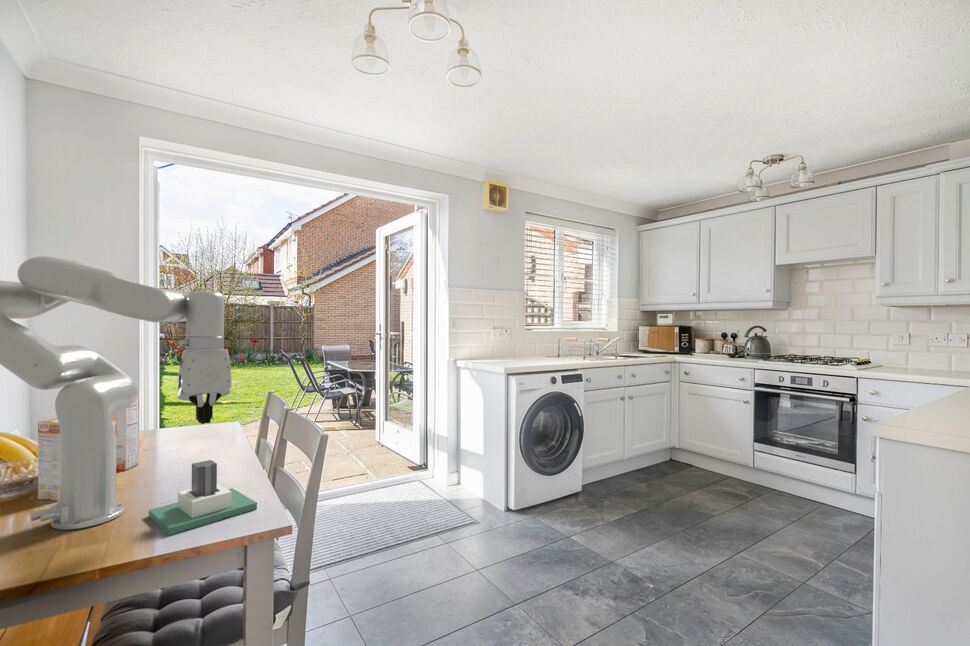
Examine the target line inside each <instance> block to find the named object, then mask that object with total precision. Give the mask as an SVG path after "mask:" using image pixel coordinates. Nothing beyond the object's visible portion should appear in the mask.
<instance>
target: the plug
mask: <svg viewBox="0 0 970 646" xmlns="http://www.w3.org/2000/svg"><path fill="white" fill-rule="evenodd" d="M217 464H218V463H217V462H215V461H213V460H212V459H209V460H203V461H199V462H198V461H197V462H193V463H191V489H192V495H193V496H195V497H199V496H204V497H207V496H210V495H214V493H215V492H217V483H218V482H217V481H218V476H217V475H218V465H217Z"/></svg>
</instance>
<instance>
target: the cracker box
mask: <svg viewBox="0 0 970 646" xmlns="http://www.w3.org/2000/svg"><path fill="white" fill-rule="evenodd" d="M139 403H140V400H139V398H138V397H137V398H136V400H135V402H134V403H133V404H132V405H131V406H130V407H128V408H126V409H124V410H122V411H119V412H117V413H115V432H116V472H125V471H128V470H131V469H132V468H134V467H137V466H138V465H139V441H140V440H139V431H140V430H139V427H140V426H139V419H140V417H139V416H140V415H139V414H140V413H139V411H140V410H139V409H140V408H139Z"/></svg>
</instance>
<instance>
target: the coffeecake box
mask: <svg viewBox="0 0 970 646" xmlns="http://www.w3.org/2000/svg"><path fill="white" fill-rule="evenodd" d="M110 417H111V420H112V423H113V425H114V428H115V413H114V414H110ZM37 499H38V500H41V499H50V500H49V501H58V500H61V442H60V428H59V423H58V419H57V417H54V418H49V419H44V420H40V421H37Z"/></svg>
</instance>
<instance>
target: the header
mask: <svg viewBox="0 0 970 646" xmlns="http://www.w3.org/2000/svg"><path fill="white" fill-rule="evenodd" d="M228 489H229V488H227V487H225V486H223V485H222V484H220V483H218V482H217V492H215V493H214V495H210V496H207V497H204V496H199V497H195V496H193V495H192V488H189V489H187V488H186V489H185V490H180V491H177V502H178V507H179V508H180V509H181V510H183V511H184V512H185V513H186V514H188V515H189V516H190V517H191V518H194V517H197V516H201V515H204V514H208V513H211V512H215V511H218V510H222V509H225V508H229V507H232V492H231V491H230V490H228Z"/></svg>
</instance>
